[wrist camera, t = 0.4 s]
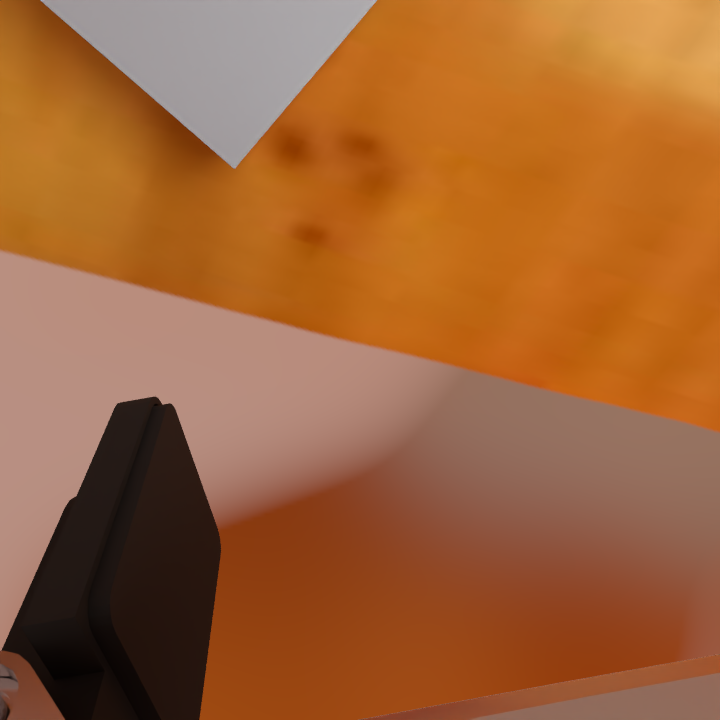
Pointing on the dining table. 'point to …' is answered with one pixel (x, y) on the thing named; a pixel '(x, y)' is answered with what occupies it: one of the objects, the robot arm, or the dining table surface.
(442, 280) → the dining table surface
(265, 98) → the lid flap
